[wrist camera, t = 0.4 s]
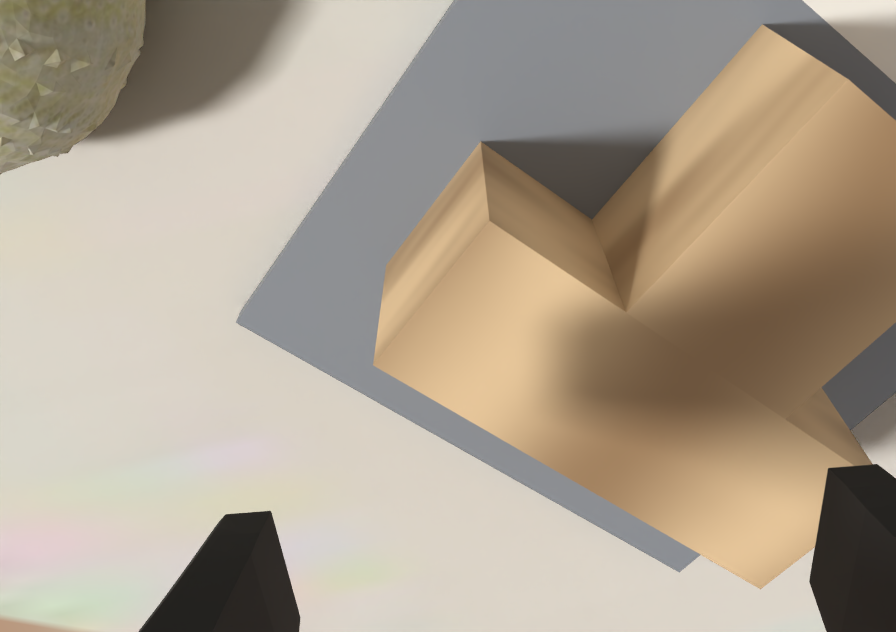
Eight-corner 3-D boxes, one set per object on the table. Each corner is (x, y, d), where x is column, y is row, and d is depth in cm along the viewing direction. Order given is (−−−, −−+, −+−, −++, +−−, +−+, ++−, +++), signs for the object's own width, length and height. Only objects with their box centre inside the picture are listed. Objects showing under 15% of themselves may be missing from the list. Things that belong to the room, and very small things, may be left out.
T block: (989, 220, 18) (1116, 312, 15) (710, 467, 22) (760, 589, 18) (645, -76, 15) (704, -46, 12) (385, 265, 19) (372, 365, 15)
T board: (1590, -215, 15) (1626, -216, 14) (675, 558, 24) (679, 572, 24) (1131, -987, 11) (1160, -1022, 10) (240, 311, 20) (236, 322, 20)
